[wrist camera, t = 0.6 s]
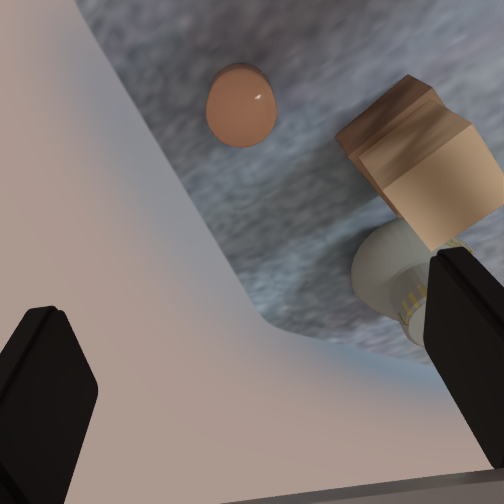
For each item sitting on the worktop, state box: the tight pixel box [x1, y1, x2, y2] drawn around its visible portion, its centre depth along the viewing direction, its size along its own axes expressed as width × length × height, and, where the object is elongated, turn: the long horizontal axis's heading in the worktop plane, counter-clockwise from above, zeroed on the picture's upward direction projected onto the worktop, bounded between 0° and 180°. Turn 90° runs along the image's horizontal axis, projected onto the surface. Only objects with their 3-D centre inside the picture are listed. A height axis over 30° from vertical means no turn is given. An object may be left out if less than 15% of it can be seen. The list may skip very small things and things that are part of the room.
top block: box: [359, 99, 504, 252], centre depth 29 cm, size 6×6×6 cm
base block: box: [335, 75, 446, 219], centre depth 34 cm, size 7×7×5 cm
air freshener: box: [351, 217, 476, 347], centre depth 37 cm, size 11×8×10 cm
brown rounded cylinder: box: [206, 63, 277, 147], centre depth 31 cm, size 5×5×5 cm
